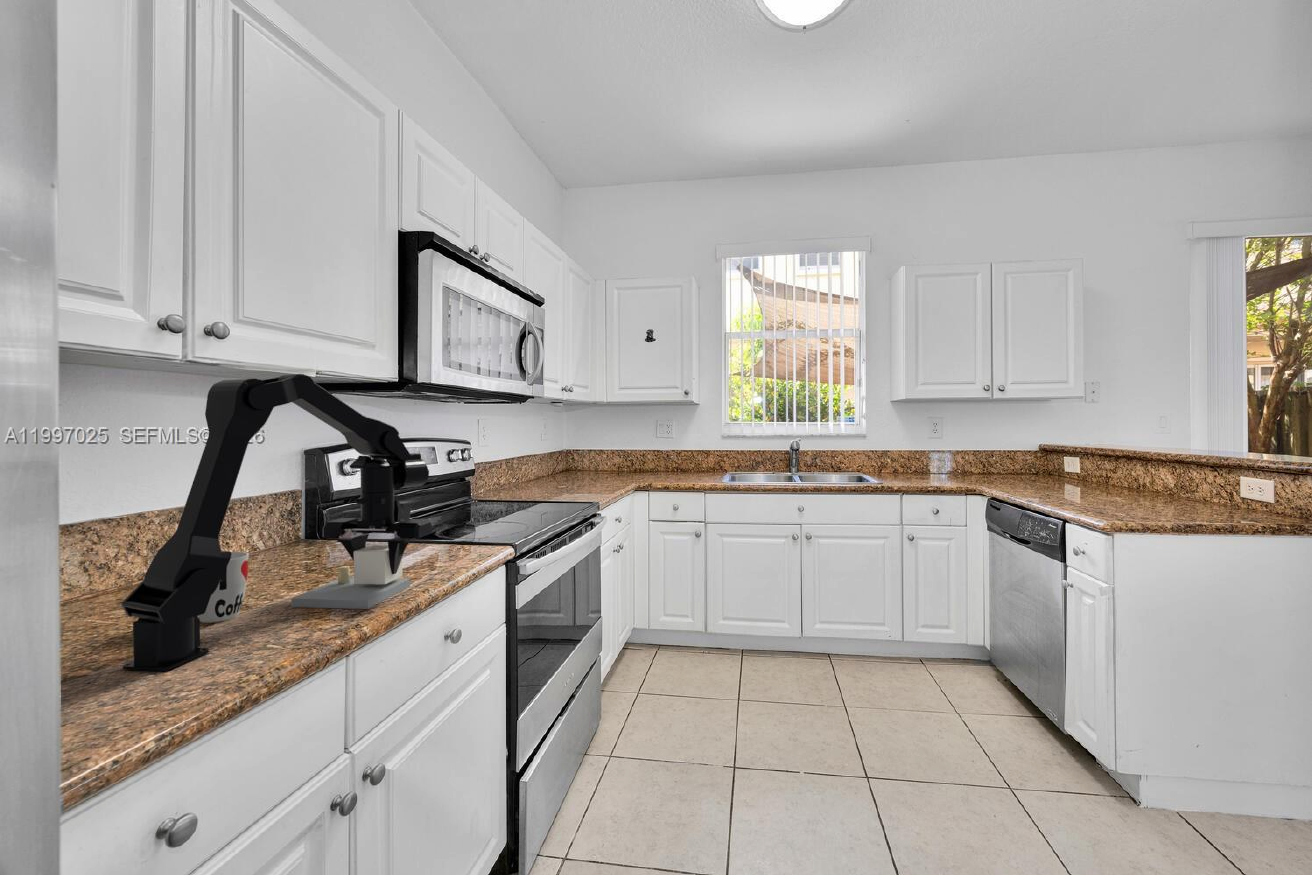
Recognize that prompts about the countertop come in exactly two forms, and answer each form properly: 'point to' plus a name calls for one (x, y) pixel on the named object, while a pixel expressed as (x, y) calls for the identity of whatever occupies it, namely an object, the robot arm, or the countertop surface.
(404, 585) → the plate
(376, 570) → the block
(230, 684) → the countertop surface
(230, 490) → the robot arm
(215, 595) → the cup
